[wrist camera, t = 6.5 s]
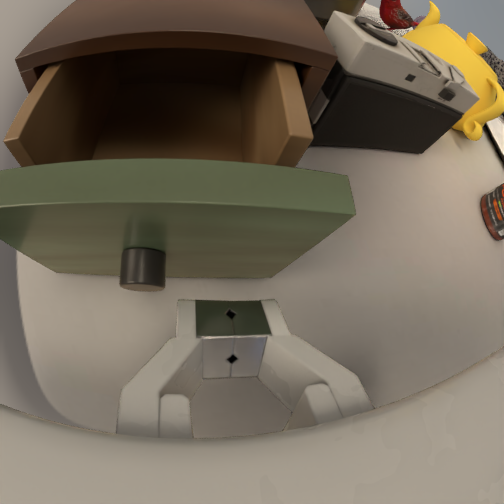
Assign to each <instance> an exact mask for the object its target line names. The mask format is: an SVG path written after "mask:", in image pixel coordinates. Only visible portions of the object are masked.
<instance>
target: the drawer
mask: <svg viewBox="0 0 504 504" xmlns="http://www.w3.org/2000/svg"><path fill="white" fill-rule="evenodd" d="M312 140H313V132H312V128H311V124H310V120H309V116H308V112H307V108H306V104H305V100H304V96H303V93H302V89H301V85H300V82H299V78H298V75H297V71H296V68H295V65H294V61H290V60H285V59H280V58H275V57H270V56H264V55H258V54H251V53H244V52H236V51H226V50H215V49H199V48H147V49H132V50H121V51H112V52H104V53H97V54H91V55H85V56H79V57H74V58H69V59H65V60H60V61H56V62H52V63H50V65H49V66H48V67H47V69H46V70H45V71H44V73H43V74H42V75H41V77H40V78H39V80H38V81H37V83H36V84H35V86H34V87H33V89H32V90H31V92H30V93H29V95H28V97H27V98H26V100H25V101H24V103H23V105H22V107H21V108H20V110H19V112H18V114H17V115H16V117H15V119H14V121H13V123H12V125H11V126H10V128H9V130H8V132H7V134H6V136H5V139H4V143H5V144H6V146H7V148H8V149H9V150H10V152H11V153H12V155H13V156H14V157H15V159H16V160H17V161H18V163H19V164H20V165H21V167H20V168H14V169H7V170H1V171H0V239H1V240H3V241H4V242H5V243H7V244H9V245H10V246H12V247H13V248H15V249H16V250H18V251H20V252H21V253H23V254H25V255H26V256H28V257H30V258H31V259H33V260H35V261H36V262H38V263H40V264H42V265H43V266H45V267H47V268H49V269H50V270H52V271H54V272H56V273H73V274H94V275H120V283H119V284H120V287H122V288H124V289H128V290H134V291H147V292H151V291H161V290H164V289H165V277H206V278H271V277H273V276H274V275H275V274H277V273H278V272H280V271H281V270H282V269H284V268H285V267H287V266H288V265H289V264H291V263H292V262H293V261H295V260H296V259H297V258H299V257H300V256H302V255H303V254H304V253H306V252H307V251H308V250H310V249H311V248H312V247H314V246H315V245H316V244H318V243H319V242H321V241H322V240H323V239H325V238H326V237H327V236H329V235H330V234H331V233H333V232H334V231H335V230H336V229H338V228H339V227H340V226H342V225H343V224H344V223H346V222H347V221H348V220H350V219H351V218H352V217H354V216H355V215H356V211H355V206H354V201H353V196H352V192H351V187H350V183H349V179H348V176H347V175H341V174H335V173H329V172H323V171H316V170H309V169H302V168H295V167H296V165H297V164H298V162H299V161H300V159H301V157H302V156H303V154H304V153H305V151H306V150H307V148H308V147H309V145H310V143H311V142H312Z"/></svg>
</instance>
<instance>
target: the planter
mask: <svg viewBox="0 0 504 504" xmlns="http://www.w3.org/2000/svg"><path fill="white" fill-rule="evenodd" d="M304 1H305V3H306V4H307V6H308V7H309V9H310V10H311V12H312V13H313V15H314V16H315V18H316V19H317V20H329V19H330V17H331V15H332V13H333V12H334V11H338V12H341V13H344V14H347V15H350V16H353V17H356V16H357V15H358V13H359V11H360V10H361V8H362V6H363V4H364V3H365V1H366V0H304Z"/></svg>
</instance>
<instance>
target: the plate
mask: <svg viewBox="0 0 504 504" xmlns="http://www.w3.org/2000/svg"><path fill="white" fill-rule="evenodd" d="M486 125H487V128H488V131H489V133H490V136H491V138H492V140H493V142H494V144H495V146H496V148H497V150H498V152H499V154H500V156H501V158H502V160H503V162H504V124H503V123H502V122H501V121H500V119H499V118H498V117H497V118H495V119H493V120H491V121H488V122H486Z"/></svg>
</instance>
